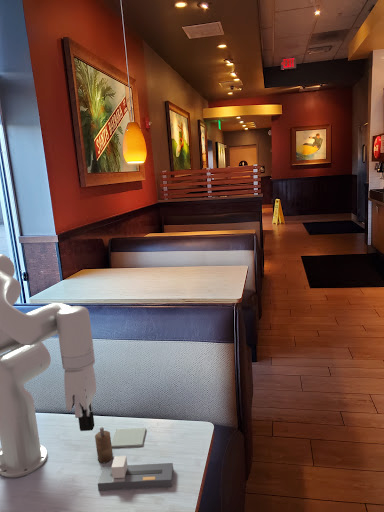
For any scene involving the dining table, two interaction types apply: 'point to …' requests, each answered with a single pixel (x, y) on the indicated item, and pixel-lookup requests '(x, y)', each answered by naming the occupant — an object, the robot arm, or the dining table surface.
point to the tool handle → (103, 446)
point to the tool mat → (128, 437)
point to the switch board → (138, 477)
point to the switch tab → (119, 467)
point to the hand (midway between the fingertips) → (87, 428)
